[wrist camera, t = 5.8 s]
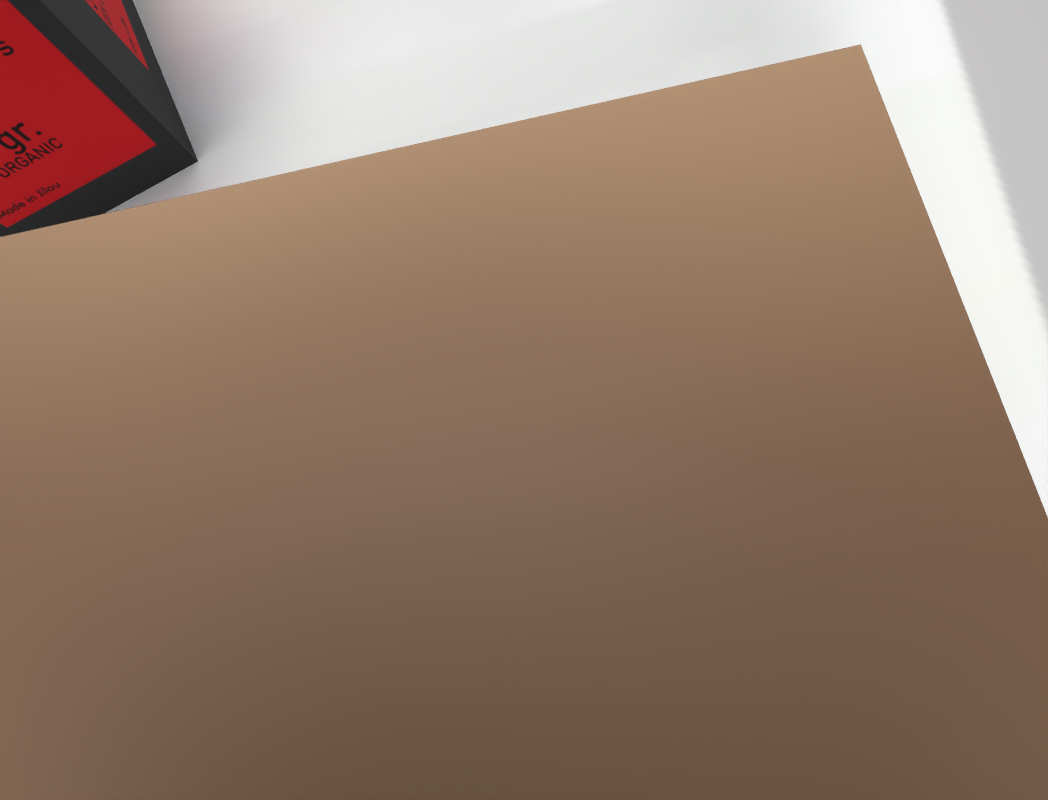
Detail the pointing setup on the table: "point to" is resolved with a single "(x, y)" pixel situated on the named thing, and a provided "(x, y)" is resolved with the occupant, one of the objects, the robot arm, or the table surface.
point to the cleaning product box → (80, 112)
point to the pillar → (522, 476)
